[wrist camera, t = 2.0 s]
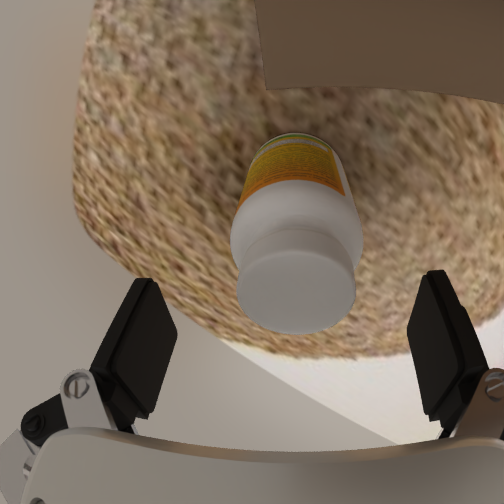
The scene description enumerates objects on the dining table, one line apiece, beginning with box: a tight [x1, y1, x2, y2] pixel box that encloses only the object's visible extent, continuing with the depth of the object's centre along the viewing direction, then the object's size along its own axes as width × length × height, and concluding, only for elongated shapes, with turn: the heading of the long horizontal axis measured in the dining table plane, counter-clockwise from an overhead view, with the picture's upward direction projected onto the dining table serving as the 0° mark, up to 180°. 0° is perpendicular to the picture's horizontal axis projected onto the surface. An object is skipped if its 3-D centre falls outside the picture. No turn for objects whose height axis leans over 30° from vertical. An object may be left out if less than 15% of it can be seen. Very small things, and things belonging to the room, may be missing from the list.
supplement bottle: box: [230, 133, 363, 335], centre depth 14 cm, size 5×5×10 cm
